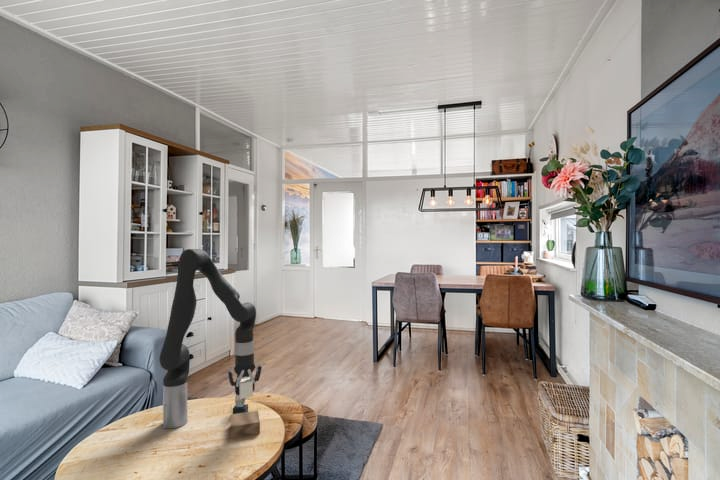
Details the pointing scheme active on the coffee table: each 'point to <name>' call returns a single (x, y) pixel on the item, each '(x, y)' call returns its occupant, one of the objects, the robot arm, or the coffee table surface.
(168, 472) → the coffee table surface
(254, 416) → the walnut block
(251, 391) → the cream block
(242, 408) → the watch
